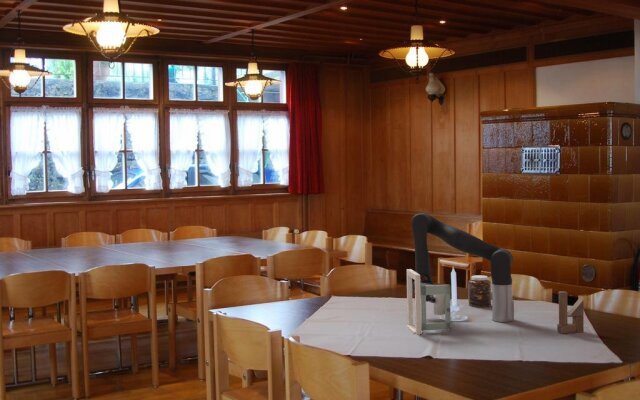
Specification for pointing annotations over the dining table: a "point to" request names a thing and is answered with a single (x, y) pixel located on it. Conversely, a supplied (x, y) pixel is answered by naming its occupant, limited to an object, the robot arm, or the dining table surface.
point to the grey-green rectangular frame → (445, 290)
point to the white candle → (439, 304)
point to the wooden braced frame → (570, 315)
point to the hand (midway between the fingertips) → (441, 300)
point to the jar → (479, 291)
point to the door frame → (415, 328)
